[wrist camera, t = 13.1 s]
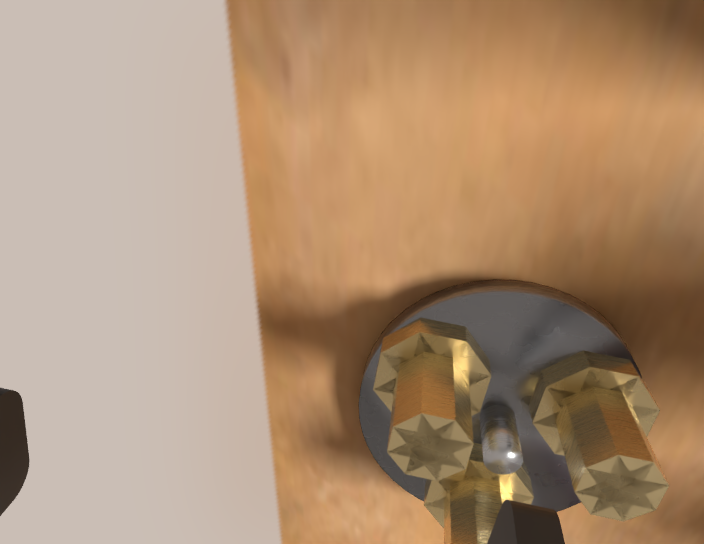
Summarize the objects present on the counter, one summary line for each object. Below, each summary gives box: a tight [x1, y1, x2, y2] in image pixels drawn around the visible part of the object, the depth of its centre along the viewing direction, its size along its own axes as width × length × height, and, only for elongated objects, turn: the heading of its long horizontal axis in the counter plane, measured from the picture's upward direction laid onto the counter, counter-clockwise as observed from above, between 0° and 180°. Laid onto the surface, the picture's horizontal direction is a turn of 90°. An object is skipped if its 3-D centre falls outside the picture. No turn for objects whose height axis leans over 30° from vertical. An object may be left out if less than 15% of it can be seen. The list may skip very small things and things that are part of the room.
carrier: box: [359, 280, 642, 512], centre depth 39 cm, size 19×19×6 cm
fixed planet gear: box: [529, 350, 669, 521], centre depth 35 cm, size 7×7×8 cm
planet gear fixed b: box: [373, 317, 491, 481], centre depth 36 cm, size 7×7×8 cm
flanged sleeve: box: [424, 443, 534, 544], centre depth 39 cm, size 7×7×8 cm
